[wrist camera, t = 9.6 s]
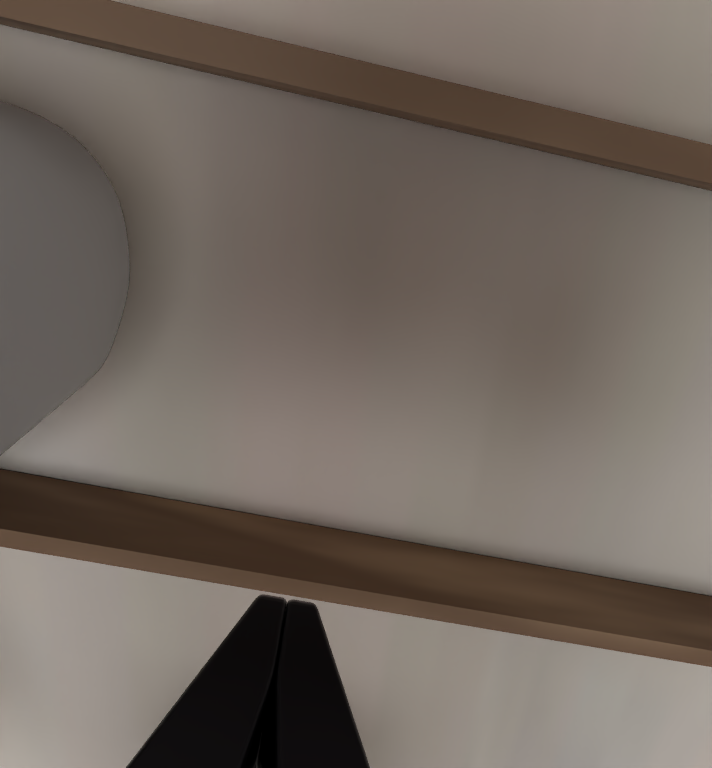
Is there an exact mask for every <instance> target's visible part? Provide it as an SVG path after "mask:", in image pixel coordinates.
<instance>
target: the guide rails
mask: <svg viewBox="0 0 712 768" xmlns="http://www.w3.org/2000/svg"><path fill="white" fill-rule="evenodd" d="M0 24H2V25H6V26H10V27H15V28H19V29H23V30H28V31H32V32H36V33H40V34H45V35H49V36H53V37H57V38H62V39H66V40H70V41H74V42H79V43H83V44H87V45H92V46H96V47H100V48H104V49H109V50H113V51H117V52H121V53H126V54H130V55H134V56H139V57H143V58H147V59H151V60H156V61H160V62H164V63H168V64H173V65H177V66H181V67H186V68H190V69H194V70H198V71H203V72H207V73H211V74H215V75H220V76H224V77H228V78H232V79H237V80H241V81H245V82H250V83H254V84H258V85H262V86H267V87H271V88H275V89H279V90H284V91H288V92H292V93H297V94H301V95H305V96H309V97H314V98H318V99H322V100H326V101H331V102H335V103H339V104H343V105H348V106H352V107H356V108H361V109H365V110H369V111H373V112H378V113H382V114H386V115H390V116H395V117H399V118H403V119H408V120H412V121H416V122H420V123H425V124H429V125H433V126H437V127H442V128H446V129H450V130H455V131H459V132H463V133H467V134H472V135H476V136H480V137H484V138H489V139H493V140H497V141H501V142H506V143H510V144H514V145H519V146H523V147H527V148H531V149H536V150H540V151H544V152H548V153H553V154H557V155H561V156H566V157H570V158H574V159H578V160H583V161H587V162H591V163H595V164H600V165H604V166H608V167H612V168H617V169H621V170H625V171H630V172H634V173H638V174H642V175H647V176H651V177H655V178H659V179H664V180H668V181H672V182H677V183H681V184H685V185H689V186H694V187H698V188H702V189H706V190H711V191H712V145H709V144H705V143H701V142H697V141H693V140H689V139H684V138H680V137H676V136H672V135H668V134H664V133H659V132H655V131H651V130H647V129H643V128H639V127H634V126H630V125H626V124H622V123H618V122H614V121H609V120H605V119H601V118H597V117H593V116H589V115H585V114H580V113H576V112H572V111H568V110H564V109H560V108H555V107H551V106H547V105H543V104H539V103H535V102H530V101H526V100H522V99H518V98H514V97H510V96H506V95H501V94H497V93H493V92H489V91H485V90H481V89H476V88H472V87H468V86H464V85H460V84H456V83H451V82H447V81H443V80H439V79H435V78H431V77H426V76H422V75H418V74H414V73H410V72H406V71H402V70H397V69H393V68H389V67H385V66H381V65H377V64H372V63H368V62H364V61H360V60H356V59H352V58H347V57H343V56H339V55H335V54H331V53H327V52H322V51H318V50H314V49H310V48H306V47H302V46H298V45H293V44H289V43H285V42H281V41H277V40H273V39H268V38H264V37H260V36H256V35H252V34H248V33H243V32H239V31H235V30H231V29H227V28H223V27H219V26H214V25H210V24H206V23H202V22H198V21H194V20H189V19H185V18H181V17H177V16H173V15H169V14H164V13H160V12H156V11H152V10H148V9H144V8H139V7H135V6H131V5H127V4H123V3H119V2H115V1H110V0H0ZM0 546H1V547H7V548H13V549H18V550H24V551H30V552H36V553H42V554H48V555H54V556H60V557H66V558H72V559H77V560H83V561H89V562H95V563H101V564H107V565H113V566H119V567H125V568H131V569H136V570H142V571H148V572H154V573H160V574H166V575H172V576H178V577H184V578H190V579H196V580H201V581H207V582H213V583H219V584H225V585H231V586H237V587H243V588H249V589H255V590H260V591H266V592H272V593H278V594H284V595H290V596H296V597H302V598H308V599H314V600H319V601H325V602H331V603H337V604H343V605H349V606H355V607H361V608H367V609H373V610H378V611H384V612H390V613H396V614H402V615H408V616H414V617H420V618H426V619H432V620H437V621H443V622H449V623H455V624H461V625H467V626H473V627H479V628H485V629H491V630H496V631H502V632H508V633H514V634H520V635H526V636H532V637H538V638H544V639H550V640H555V641H561V642H567V643H573V644H579V645H585V646H591V647H597V648H603V649H609V650H614V651H620V652H626V653H632V654H638V655H644V656H650V657H656V658H662V659H668V660H673V661H679V662H685V663H691V664H697V665H703V666H709V667H712V596H706V595H701V594H695V593H689V592H684V591H678V590H673V589H667V588H662V587H656V586H650V585H645V584H639V583H634V582H628V581H622V580H617V579H611V578H606V577H600V576H594V575H589V574H583V573H578V572H572V571H567V570H561V569H555V568H550V567H544V566H539V565H533V564H527V563H522V562H516V561H511V560H505V559H500V558H494V557H488V556H483V555H477V554H472V553H466V552H460V551H455V550H449V549H444V548H438V547H433V546H427V545H421V544H416V543H410V542H405V541H399V540H393V539H388V538H382V537H377V536H371V535H366V534H360V533H354V532H349V531H343V530H338V529H332V528H326V527H321V526H315V525H310V524H304V523H298V522H293V521H287V520H282V519H276V518H271V517H265V516H259V515H254V514H248V513H243V512H237V511H231V510H226V509H220V508H215V507H209V506H204V505H198V504H192V503H187V502H181V501H176V500H170V499H164V498H159V497H153V496H148V495H142V494H137V493H131V492H125V491H120V490H114V489H109V488H103V487H97V486H92V485H86V484H81V483H75V482H69V481H64V480H58V479H53V478H47V477H42V476H36V475H30V474H25V473H19V472H14V471H8V470H2V469H0Z"/></svg>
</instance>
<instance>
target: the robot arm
mask: <svg viewBox="0 0 712 768" xmlns="http://www.w3.org/2000/svg"><path fill="white" fill-rule="evenodd" d="M286 604H287V606H286ZM126 768H370V766H369V763H368V760H367V757H366V754H365V751H364V748H363V745H362V742H361V739H360V736H359V733H358V730H357V727H356V724H355V721H354V718H353V715H352V712H351V709H350V706H349V703H348V700H347V696H346V693H345V690H344V687H343V684H342V681H341V678H340V675H339V672H338V669H337V666H336V663H335V660H334V657H333V654H332V651H331V648H330V645H329V642H328V639H327V636H326V633H325V630H324V627H323V624H322V621H321V618H320V614H319V611H318V609H317V607H316V605H315V604H314V603H311V602H305V601H299V600H289V601H288V603H287V602H286V600H285V599H284V598H281V597H276V596H270V595H259V596H258V597H257V598H256V599H255V600H254V602H253V603H252V604H251V606H250V607H249V608H248V610H247V611H246V612H245V613H244V615H243V616H242V617H241V619H240V620H239V621H238V623H237V624H236V625H235V626H234V628H233V629H232V630H231V632H230V633H229V634H228V636H227V637H226V638H225V639H224V641H223V642H222V643H221V645H220V646H219V647H218V649H217V650H216V651H215V652H214V654H213V655H212V656H211V658H210V659H209V660H208V662H207V663H206V664H205V665H204V667H203V668H202V669H201V671H200V672H199V673H198V675H197V676H196V677H195V679H194V680H193V681H192V682H191V684H190V685H189V686H188V688H187V689H186V690H185V692H184V693H183V694H182V695H181V697H180V698H179V699H178V701H177V702H176V703H175V705H174V706H173V707H172V708H171V710H170V711H169V712H168V714H167V715H166V716H165V718H164V719H163V720H162V721H161V723H160V724H159V725H158V727H157V728H156V729H155V731H154V732H153V733H152V735H151V736H150V737H149V738H148V740H147V741H146V742H145V744H144V745H143V746H142V748H141V749H140V750H139V751H138V753H137V754H136V755H135V757H134V758H133V759H132V761H131V762H130V763H129V764H128V766H127V767H126Z"/></svg>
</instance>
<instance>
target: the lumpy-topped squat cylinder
mask: <svg viewBox="0 0 712 768" xmlns="http://www.w3.org/2000/svg"><path fill="white" fill-rule="evenodd" d="M129 278H130V262H129V248H128V239H127V232H126V226H125V221H124V217H123V213H122V209H121V206H120V203H119V200H118V197H117V195H116V192H115V190H114V188H113V186H112V184H111V182H110V180H109V179H108V177H107V175H106V174H105V172H104V171H103V169H102V168H101V166H100V165H99V164H98V162H97V161H96V160H95V159H94V157H93V156H92V155H91V154H90V153H89V152H88V151H87V150H86V149H85V148H84V147H83V146H82V145H81V144H80V143H79V142H78V141H77V140H76V139H75V138H73V137H72V136H71V135H70V134H68V133H67V132H66V131H64V130H63V129H61V128H60V127H58V126H57V125H55V124H53V123H52V122H50V121H48V120H46V119H44V118H42V117H40V116H38V115H36V114H34V113H32V112H30V111H27V110H25V109H22V108H20V107H17V106H14V105H12V104H9V103H6V102H3V101H0V455H1V454H3V453H4V452H5V451H6V450H7V449H9V448H10V447H11V446H12V445H13V444H14V443H16V442H17V441H18V440H19V439H20V438H22V437H23V436H24V435H25V434H26V433H27V432H29V431H30V430H31V429H32V428H33V427H35V426H36V425H37V424H38V423H39V422H40V421H42V420H43V419H44V418H45V417H46V416H47V415H49V414H50V413H51V412H52V411H53V410H55V409H56V408H57V407H58V406H59V405H60V404H62V403H63V402H64V401H65V400H66V399H67V398H69V397H70V396H71V395H72V394H73V393H75V392H76V391H77V390H78V389H79V388H80V387H82V386H83V385H84V384H85V383H86V382H87V381H88V380H89V379H91V378H92V377H93V376H94V375H95V374H96V372H97V371H98V370H99V369H100V368H101V366H102V365H103V363H104V362H105V360H106V358H107V356H108V354H109V352H110V350H111V347H112V345H113V342H114V339H115V336H116V333H117V331H118V327H119V324H120V321H121V318H122V314H123V311H124V307H125V303H126V298H127V293H128V287H129Z"/></svg>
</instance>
